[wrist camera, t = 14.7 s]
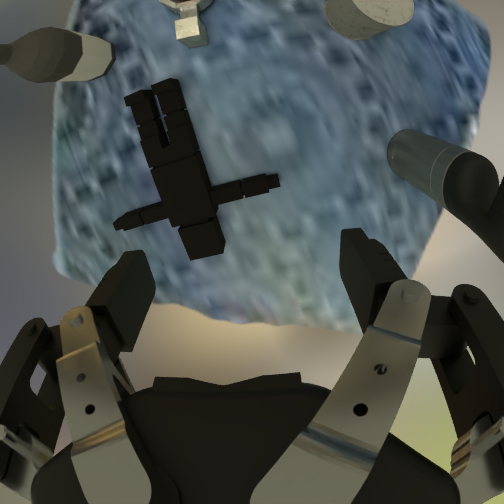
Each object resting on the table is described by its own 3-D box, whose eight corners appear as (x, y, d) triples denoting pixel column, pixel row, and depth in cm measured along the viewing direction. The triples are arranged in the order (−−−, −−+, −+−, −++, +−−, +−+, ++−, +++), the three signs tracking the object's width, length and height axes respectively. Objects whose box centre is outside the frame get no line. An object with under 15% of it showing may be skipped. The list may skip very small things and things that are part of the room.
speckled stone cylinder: (387, 17, 30) (424, 1, 19) (361, 50, 34) (395, 39, 23) (342, -17, 27) (367, -44, 16) (313, 16, 31) (332, -9, 20)
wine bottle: (90, 89, 36) (-49, 115, 11) (72, 60, 33) (-61, 68, 7) (124, 59, 34) (-14, 47, 8) (105, 30, 31) (-26, 5, 5)
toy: (246, 54, 31) (292, 240, 46) (247, 60, 36) (288, 226, 51) (68, 127, 35) (132, 275, 50) (84, 123, 40) (140, 260, 55)
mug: (214, -22, 27) (207, -42, 20) (223, 42, 34) (216, 31, 27) (168, -12, 28) (153, -29, 21) (175, 52, 34) (160, 43, 27)
